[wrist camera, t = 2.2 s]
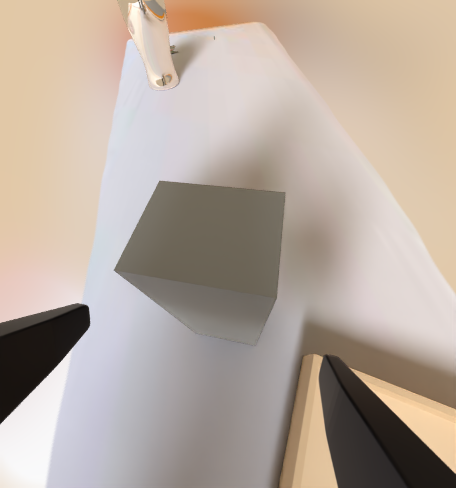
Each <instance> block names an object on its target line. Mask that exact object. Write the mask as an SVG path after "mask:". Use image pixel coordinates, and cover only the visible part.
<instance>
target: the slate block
mask: <svg viewBox="0 0 456 488" xmlns="http://www.w3.org/2000/svg"><path fill="white" fill-rule="evenodd" d="M284 203H285V193H284V192H274V191H263V190H252V189H242V188H231V187H221V186H210V185H200V184H189V183H178V182H168V181H159V183H158V185H157V187H156V189H155V191H154V193H153V195H152V197H151V198H150V200H149V202H148V204H147V206H146V208H145V210H144V212H143V214H142V216H141V218H140V220H139V222H138V224H137V226H136V228H135V230H134V232H133V234H132V236H131V238H130V240H129V242H128V244H127V246H126V247H125V249H124V251H123V253H122V255H121V257H120V259H119V261H118V263H117V265H116V267H115V269H114V271H115V272H117V273H118V274H119V275H121V276H122V277H123V278H124V279H126V280H127V281H128V282H130V283H131V284H132V285H134V286H135V287H136V288H138V289H139V290H140V291H141V292H143V293H144V294H145V295H147V296H148V297H149V298H151V299H152V300H153V301H154V302H156V303H157V304H158V305H160V306H161V307H162V308H164V309H165V310H166V311H167V312H169V313H170V314H171V315H173V316H174V317H175V318H177V319H178V320H179V321H181V322H182V323H183V324H184V325H186V326H187V327H188V328H190V329H191V330H192V331H194V332H195V333H197V334H202V335H207V336H211V337H216V338H221V339H226V340H230V341H235V342H240V343H245V344H249V345H254V346H255V345H256V343H257V341H258V338H259V336H260V334H261V332H262V330H263V327H264V325H265V323H266V321H267V319H268V316H269V314H270V312H271V310H272V307H273V305H274V303H275V301H276V299H277V287H278V275H279V263H280V251H281V239H282V227H283V215H284Z"/></svg>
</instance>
